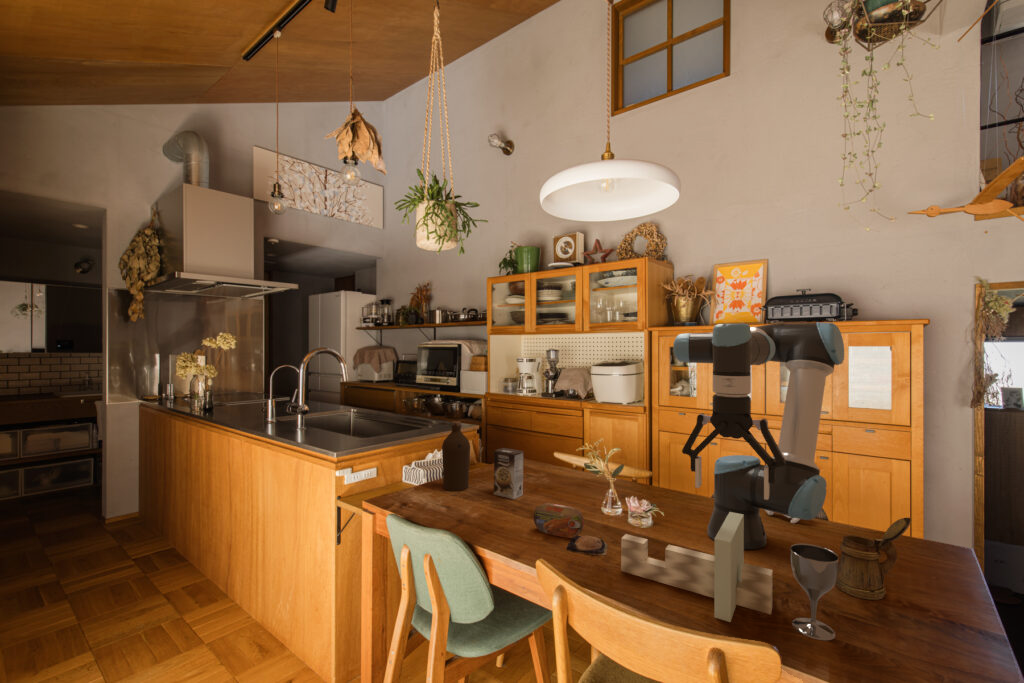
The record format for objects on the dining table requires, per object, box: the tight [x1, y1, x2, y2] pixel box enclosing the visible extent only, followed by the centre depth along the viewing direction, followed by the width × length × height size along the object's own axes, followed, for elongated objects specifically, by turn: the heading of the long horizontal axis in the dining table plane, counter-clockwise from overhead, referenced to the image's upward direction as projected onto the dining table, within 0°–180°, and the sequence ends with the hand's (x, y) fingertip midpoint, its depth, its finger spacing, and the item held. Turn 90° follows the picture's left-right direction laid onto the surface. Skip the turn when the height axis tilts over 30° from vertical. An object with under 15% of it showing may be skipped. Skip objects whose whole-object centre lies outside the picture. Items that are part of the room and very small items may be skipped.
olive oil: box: [441, 420, 471, 492], centre depth 177 cm, size 11×11×25 cm
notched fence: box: [620, 533, 774, 615], centre depth 106 cm, size 32×3×8 cm, turn 56°
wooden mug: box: [834, 517, 912, 601], centre depth 105 cm, size 9×14×18 cm, turn 61°
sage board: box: [713, 512, 745, 623], centre depth 101 cm, size 18×3×16 cm, turn 146°
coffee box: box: [493, 447, 524, 500], centre depth 169 cm, size 9×6×16 cm
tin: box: [533, 502, 585, 539], centre depth 135 cm, size 15×3×8 cm, turn 62°
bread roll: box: [566, 535, 609, 557], centre depth 126 cm, size 11×8×4 cm
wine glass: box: [789, 542, 840, 641], centre depth 91 cm, size 8×8×15 cm
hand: (731, 492), depth 102 cm, fingers open, 13 cm apart
